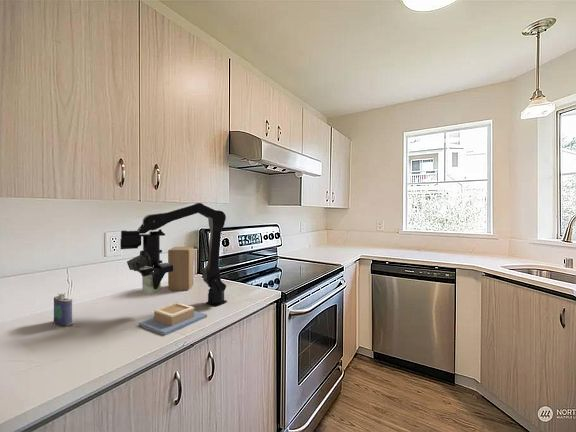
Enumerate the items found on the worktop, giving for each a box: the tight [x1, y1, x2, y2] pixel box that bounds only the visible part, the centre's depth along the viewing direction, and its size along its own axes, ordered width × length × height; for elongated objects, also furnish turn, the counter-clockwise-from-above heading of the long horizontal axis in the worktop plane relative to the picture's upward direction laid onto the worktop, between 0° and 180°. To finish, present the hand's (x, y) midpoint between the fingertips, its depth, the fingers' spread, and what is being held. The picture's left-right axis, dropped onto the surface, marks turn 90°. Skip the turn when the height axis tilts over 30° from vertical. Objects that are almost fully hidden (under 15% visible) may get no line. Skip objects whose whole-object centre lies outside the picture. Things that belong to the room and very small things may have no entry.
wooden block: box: [167, 246, 195, 291], centre depth 144 cm, size 10×10×20 cm
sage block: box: [141, 275, 162, 295], centre depth 110 cm, size 4×4×6 cm
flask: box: [53, 293, 74, 328], centre depth 100 cm, size 9×3×11 cm, turn 63°
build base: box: [138, 302, 208, 336], centre depth 103 cm, size 18×14×5 cm
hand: (151, 288), depth 110 cm, fingers closed on sage block, 4 cm apart
